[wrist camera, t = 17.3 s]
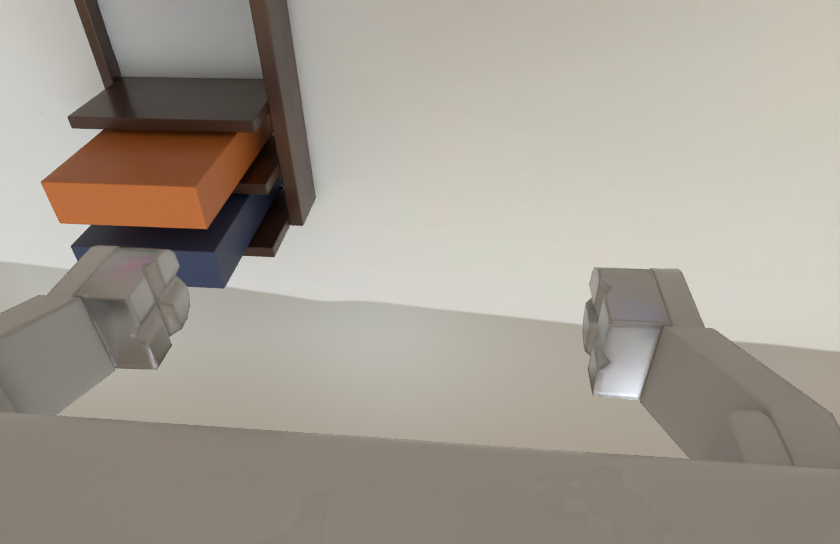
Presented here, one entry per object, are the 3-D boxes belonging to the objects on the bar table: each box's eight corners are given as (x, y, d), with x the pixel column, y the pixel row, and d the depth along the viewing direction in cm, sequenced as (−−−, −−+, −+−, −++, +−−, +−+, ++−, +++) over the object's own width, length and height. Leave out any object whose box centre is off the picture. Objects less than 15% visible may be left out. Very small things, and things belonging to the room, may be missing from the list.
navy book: (163, 148, 46) (69, 245, 36) (277, 151, 45) (214, 252, 35) (173, 180, 48) (86, 282, 38) (283, 184, 47) (224, 288, 37)
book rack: (26, -169, 34) (-78, -163, 28) (260, -175, 33) (206, -169, 27) (150, 192, 49) (100, 249, 43) (315, 198, 48) (288, 258, 41)
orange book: (146, 93, 43) (39, 181, 33) (266, 95, 43) (194, 187, 32) (157, 129, 45) (59, 223, 35) (273, 132, 44) (207, 229, 34)
